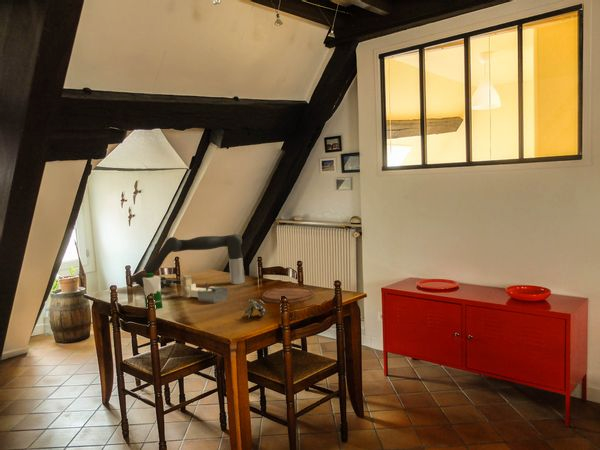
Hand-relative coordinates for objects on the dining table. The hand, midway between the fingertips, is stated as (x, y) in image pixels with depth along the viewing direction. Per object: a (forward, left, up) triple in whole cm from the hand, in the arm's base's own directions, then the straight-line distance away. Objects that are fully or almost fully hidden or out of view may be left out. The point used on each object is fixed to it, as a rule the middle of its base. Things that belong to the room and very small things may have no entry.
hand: (175, 283), depth 312 cm
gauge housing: (-21, +25, -7) cm, 33 cm away
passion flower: (-36, +72, -7) cm, 81 cm away
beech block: (-6, +8, -7) cm, 12 cm away
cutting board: (-63, +39, -8) cm, 75 cm away
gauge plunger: (-14, +17, -6) cm, 23 cm away
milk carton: (+14, +27, -7) cm, 31 cm away
